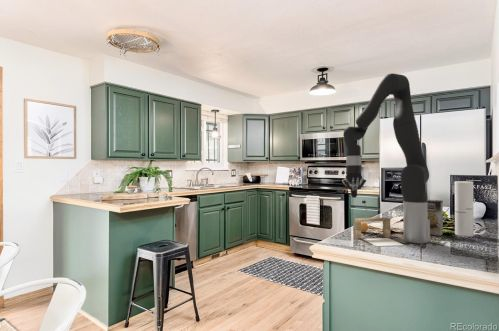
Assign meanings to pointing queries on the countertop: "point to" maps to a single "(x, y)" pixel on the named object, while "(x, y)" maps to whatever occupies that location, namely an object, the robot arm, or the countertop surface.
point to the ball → (364, 227)
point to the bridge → (358, 221)
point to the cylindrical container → (464, 208)
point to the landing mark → (383, 242)
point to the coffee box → (435, 216)
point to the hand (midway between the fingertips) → (353, 197)
